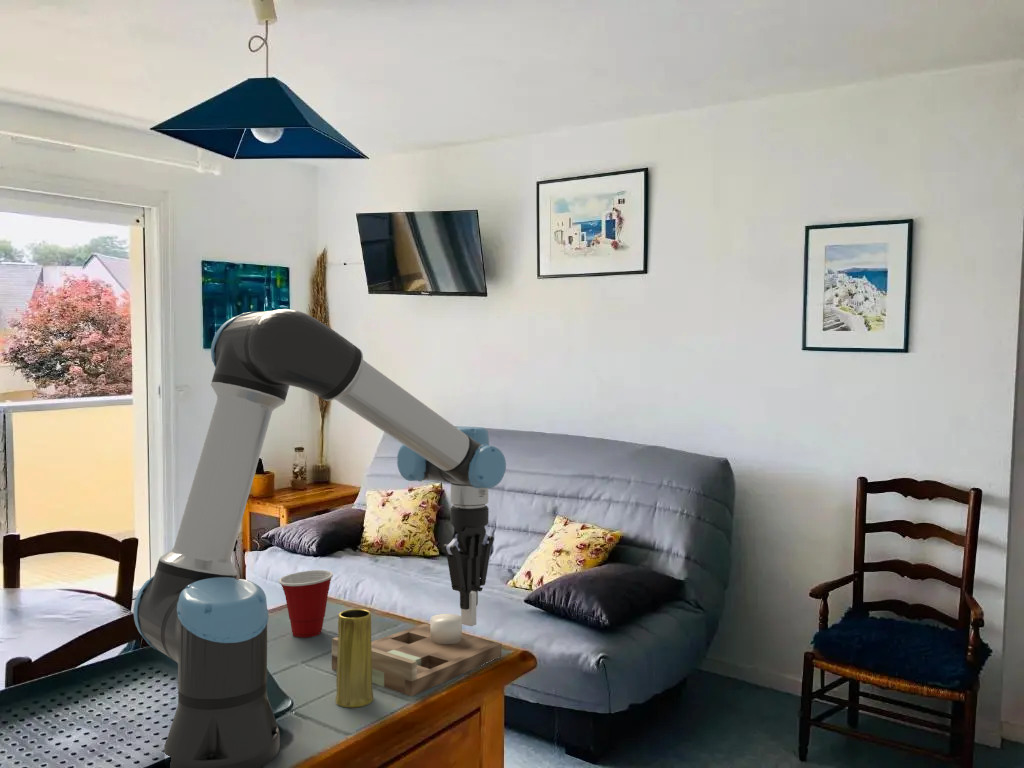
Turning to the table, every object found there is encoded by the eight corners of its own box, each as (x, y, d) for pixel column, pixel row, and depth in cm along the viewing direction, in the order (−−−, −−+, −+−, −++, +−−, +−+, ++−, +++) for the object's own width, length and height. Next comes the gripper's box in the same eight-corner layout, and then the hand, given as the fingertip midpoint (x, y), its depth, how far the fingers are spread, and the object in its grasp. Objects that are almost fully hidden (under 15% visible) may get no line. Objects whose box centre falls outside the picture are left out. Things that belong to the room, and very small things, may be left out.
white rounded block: (447, 646, 151) (447, 625, 151) (423, 639, 155) (423, 619, 155) (468, 638, 156) (468, 617, 156) (445, 632, 160) (445, 611, 160)
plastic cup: (283, 625, 171) (283, 569, 171) (335, 624, 172) (335, 568, 172) (273, 642, 160) (274, 582, 160) (329, 641, 162) (329, 581, 162)
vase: (370, 691, 136) (370, 606, 136) (376, 705, 130) (376, 617, 130) (333, 696, 134) (333, 609, 134) (337, 710, 128) (338, 620, 128)
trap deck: (411, 696, 134) (411, 663, 134) (331, 669, 146) (331, 638, 146) (501, 657, 153) (501, 627, 153) (424, 635, 165) (424, 608, 165)
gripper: (462, 511, 153) (461, 636, 153) (504, 503, 164) (503, 620, 164) (433, 507, 158) (432, 628, 158) (476, 499, 168) (475, 613, 168)
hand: (468, 624), depth 161 cm, fingers closed
